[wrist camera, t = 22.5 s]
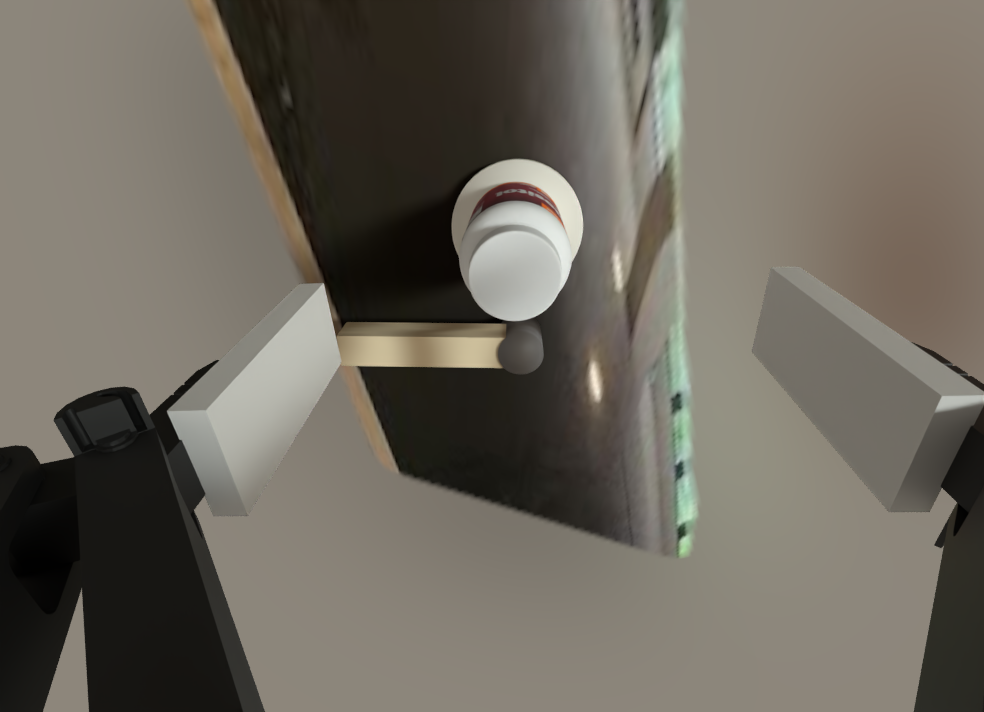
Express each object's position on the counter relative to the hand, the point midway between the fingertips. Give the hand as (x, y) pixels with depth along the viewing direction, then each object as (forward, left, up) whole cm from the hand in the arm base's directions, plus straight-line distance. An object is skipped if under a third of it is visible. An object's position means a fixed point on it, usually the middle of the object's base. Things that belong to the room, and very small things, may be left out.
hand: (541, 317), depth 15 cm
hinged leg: (+10, -6, -21) cm, 24 cm away
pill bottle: (+2, -1, -21) cm, 21 cm away
